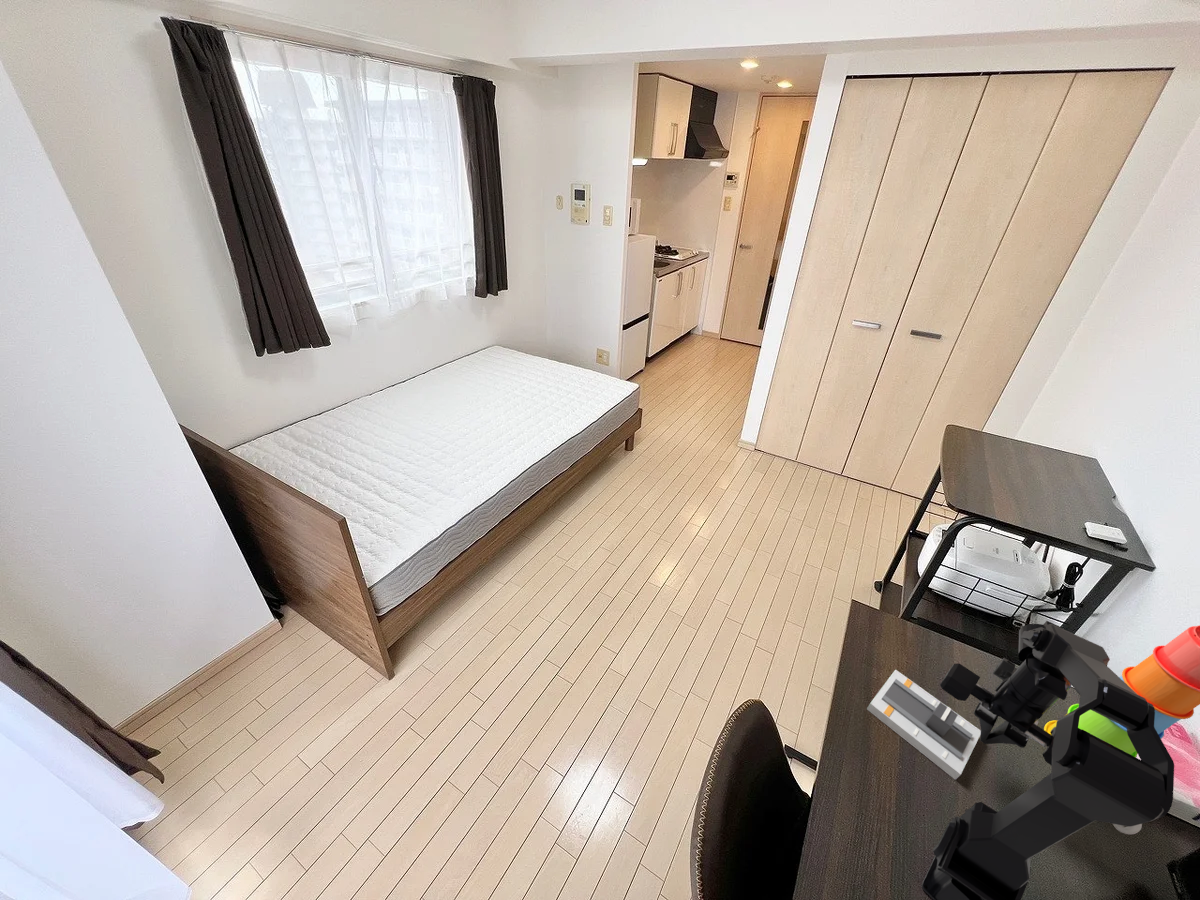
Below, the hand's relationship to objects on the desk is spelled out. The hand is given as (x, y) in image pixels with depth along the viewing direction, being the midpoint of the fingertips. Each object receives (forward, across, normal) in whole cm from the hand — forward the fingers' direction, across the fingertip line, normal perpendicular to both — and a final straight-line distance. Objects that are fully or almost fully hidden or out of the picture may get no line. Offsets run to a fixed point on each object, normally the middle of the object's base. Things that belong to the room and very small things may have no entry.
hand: (983, 740), depth 85 cm
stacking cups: (+6, -13, -19) cm, 24 cm away
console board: (+6, +8, 0) cm, 10 cm away
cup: (+6, -17, -9) cm, 20 cm away
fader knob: (+4, +6, 0) cm, 7 cm away
